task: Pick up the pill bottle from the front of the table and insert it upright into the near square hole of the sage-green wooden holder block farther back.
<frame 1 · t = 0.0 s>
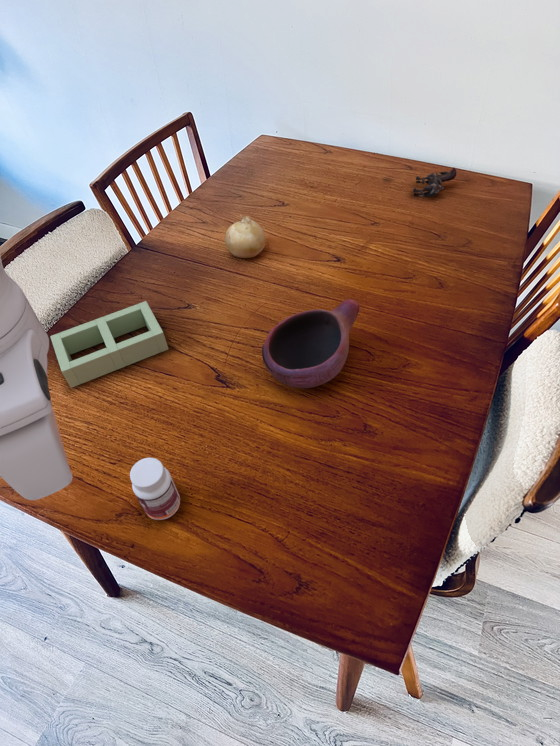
hand: (53, 440, 52), 20 cm above the table, tool pointing down, fingers open, 8 cm apart
bowl: (309, 362, 83), on the table
onion: (247, 252, 103), on the table
holder: (113, 351, 87), on the table
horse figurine: (418, 190, 114), on the table
pill bottle: (163, 505, 68), on the table
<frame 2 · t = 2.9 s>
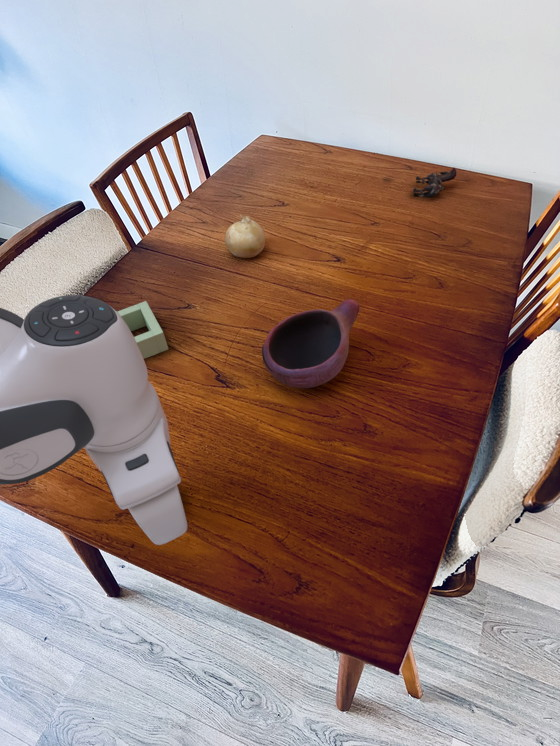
hand: (155, 490, 65), 4 cm above the table, tool pointing down, fingers closed on pill bottle, 5 cm apart
pill bottle: (163, 504, 68), on the table, touching gripper
everything else where it was.
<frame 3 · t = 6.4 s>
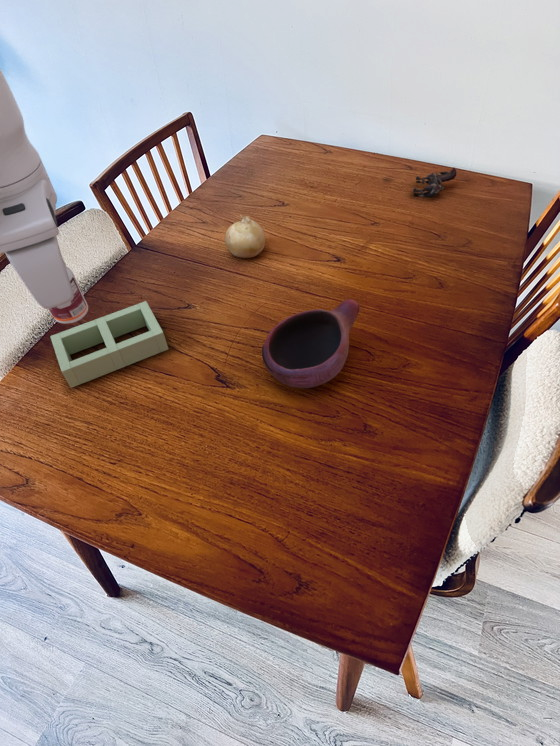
hand: (59, 290, 68), 19 cm above the table, tool pointing down, fingers closed on pill bottle, 5 cm apart
pill bottle: (71, 313, 71), point 15 cm above the table, touching gripper
everything else where it was.
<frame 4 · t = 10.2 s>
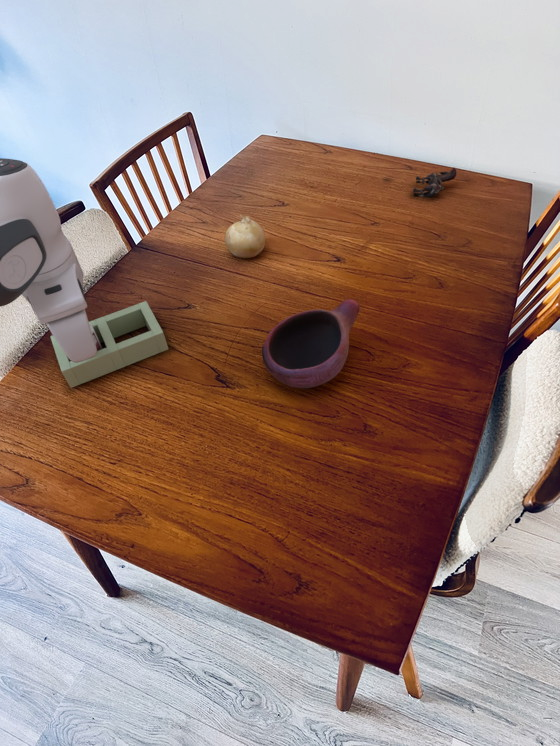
hand: (82, 342, 83), 4 cm above the table, tool pointing down, fingers closed on pill bottle, 5 cm apart
pill bottle: (91, 359, 86), resting in holder, touching gripper
everything else where it was.
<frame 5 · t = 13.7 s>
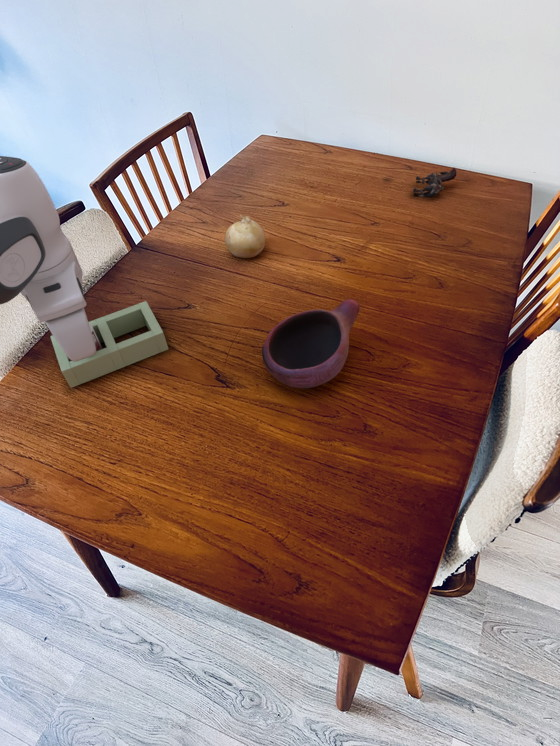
hand: (81, 341, 83), 4 cm above the table, tool pointing down, fingers closed on pill bottle, 5 cm apart
pill bottle: (90, 358, 86), resting in holder, touching gripper
everything else where it was.
when the fingers open (5 cm above the table, at t = 17.2 s): pill bottle stays where it is, resting in holder.
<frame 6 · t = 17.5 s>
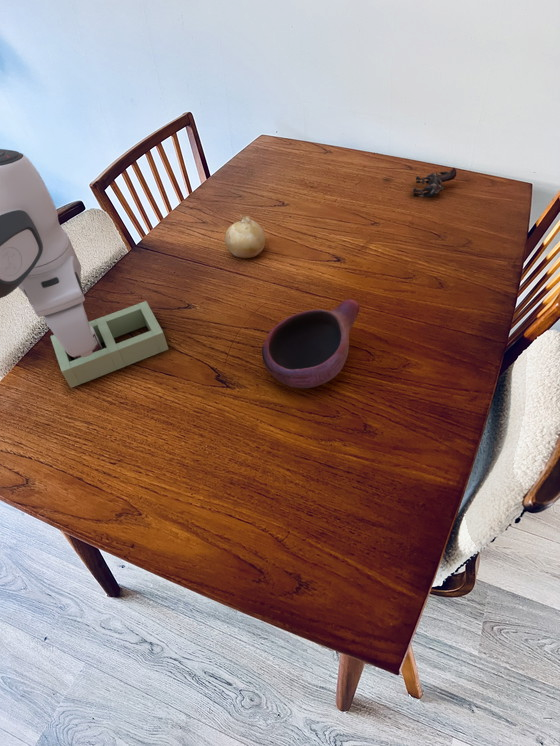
hand: (80, 336, 82), 5 cm above the table, tool pointing down, fingers open, 7 cm apart
pill bottle: (91, 360, 86), resting in holder
everything else where it was.
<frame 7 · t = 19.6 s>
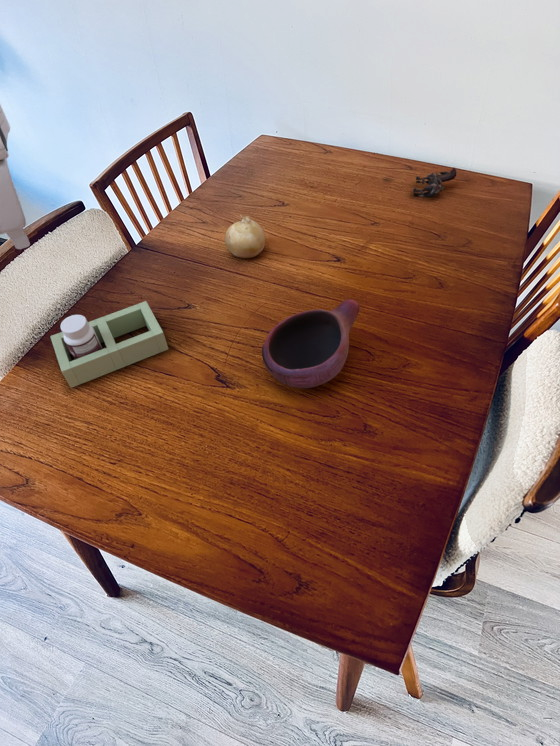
hand: (17, 227, 69), 24 cm above the table, tool pointing down, fingers open, 8 cm apart
nothing on the table moved.
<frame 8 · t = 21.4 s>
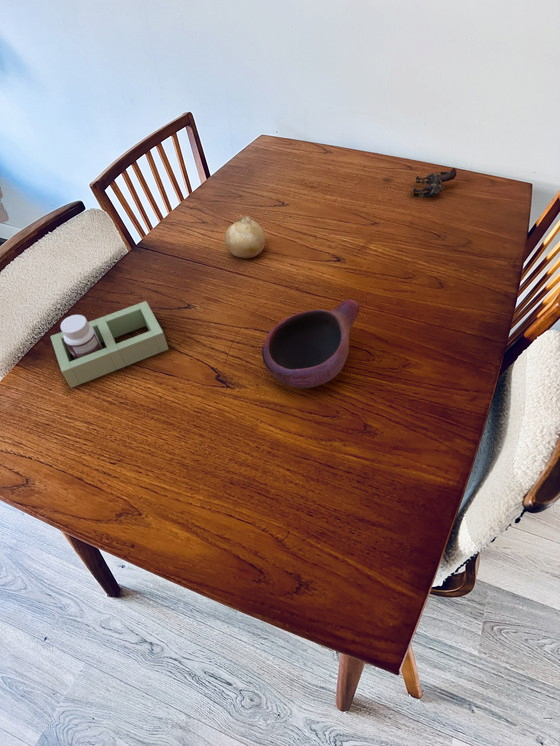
nothing on the table moved.
at the end: pill bottle 0.0 cm from the target spot in the holder, point 0.0 cm above the holder's base; pill bottle tilted 0° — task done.
